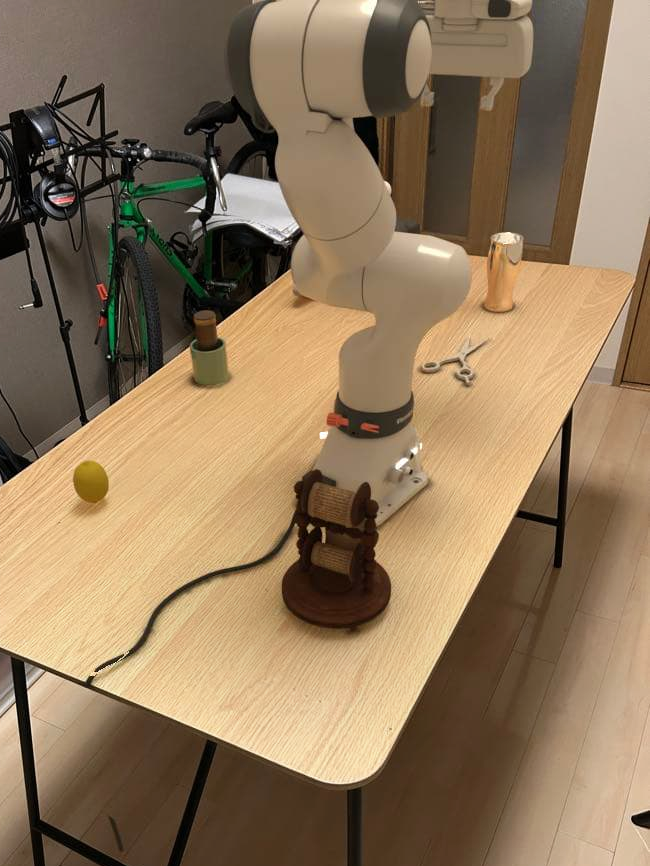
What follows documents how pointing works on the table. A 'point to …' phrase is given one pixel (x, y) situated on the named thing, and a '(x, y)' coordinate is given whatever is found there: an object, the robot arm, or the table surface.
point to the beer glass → (502, 270)
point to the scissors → (458, 356)
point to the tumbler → (209, 364)
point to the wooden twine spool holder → (335, 558)
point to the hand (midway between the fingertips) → (455, 107)
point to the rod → (206, 331)
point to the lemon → (90, 481)
